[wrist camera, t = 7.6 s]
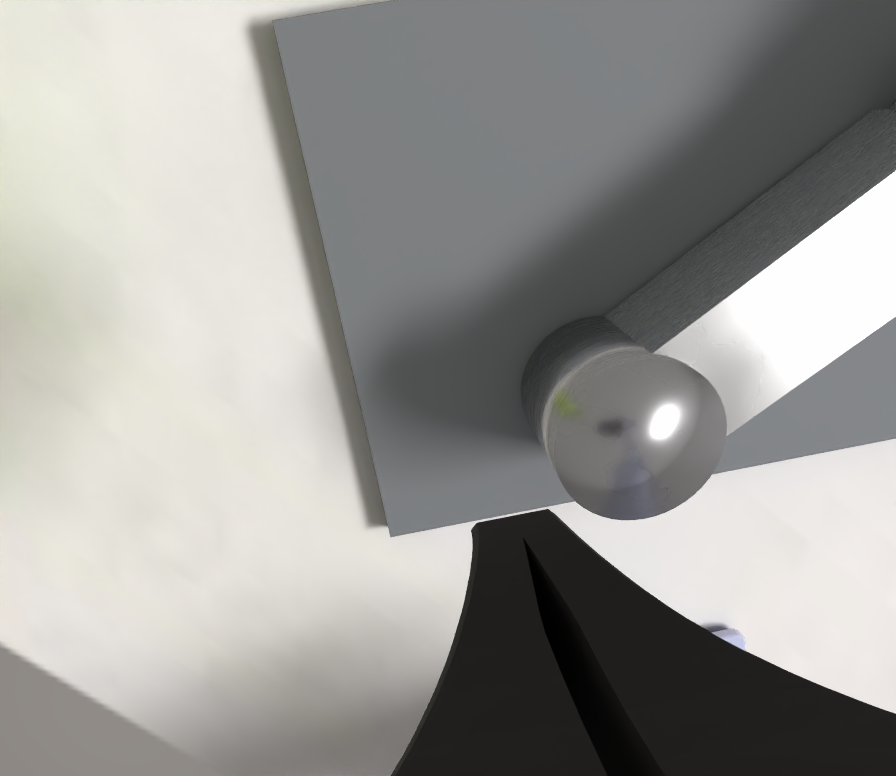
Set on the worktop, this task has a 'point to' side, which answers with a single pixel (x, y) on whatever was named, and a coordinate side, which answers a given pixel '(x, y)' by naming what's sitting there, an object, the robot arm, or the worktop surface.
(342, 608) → the worktop surface
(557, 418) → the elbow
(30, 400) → the worktop surface
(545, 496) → the duct board
